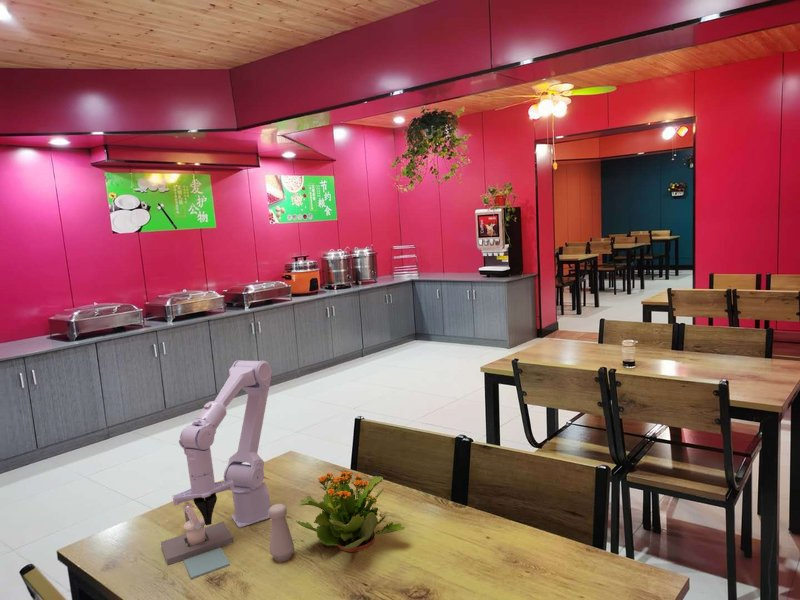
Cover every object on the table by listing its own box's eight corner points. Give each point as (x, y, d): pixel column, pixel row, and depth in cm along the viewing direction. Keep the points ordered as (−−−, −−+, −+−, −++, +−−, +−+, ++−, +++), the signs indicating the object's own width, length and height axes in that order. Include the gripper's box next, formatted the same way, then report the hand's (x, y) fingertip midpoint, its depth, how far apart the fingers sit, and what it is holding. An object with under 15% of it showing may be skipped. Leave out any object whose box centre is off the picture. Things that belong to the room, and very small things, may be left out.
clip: (182, 509, 155) (182, 505, 155) (191, 506, 156) (191, 502, 156) (192, 530, 143) (192, 525, 143) (202, 527, 144) (202, 522, 144)
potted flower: (421, 526, 148) (416, 461, 146) (380, 580, 127) (372, 505, 125) (338, 513, 159) (331, 452, 156) (287, 561, 137) (278, 491, 135)
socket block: (223, 526, 157) (223, 521, 157) (233, 542, 148) (232, 536, 148) (161, 547, 149) (160, 542, 149) (167, 565, 140) (167, 559, 140)
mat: (220, 548, 146) (220, 547, 146) (229, 565, 138) (229, 563, 138) (183, 561, 141) (183, 560, 141) (191, 579, 133) (190, 577, 133)
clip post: (194, 529, 157) (191, 507, 156) (195, 532, 155) (192, 510, 154) (186, 531, 156) (183, 510, 155) (188, 535, 154) (185, 513, 153)
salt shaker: (289, 564, 136) (283, 512, 134) (266, 563, 137) (260, 512, 136) (298, 550, 142) (292, 500, 140) (276, 550, 143) (270, 500, 141)
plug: (205, 537, 152) (202, 515, 151) (210, 545, 148) (207, 523, 147) (185, 544, 149) (182, 522, 149) (189, 553, 145) (185, 530, 144)
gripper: (172, 485, 138) (180, 539, 139) (233, 469, 144) (240, 520, 146) (169, 475, 144) (176, 527, 146) (228, 460, 150) (234, 509, 152)
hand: (208, 523), depth 146 cm, fingers closed
